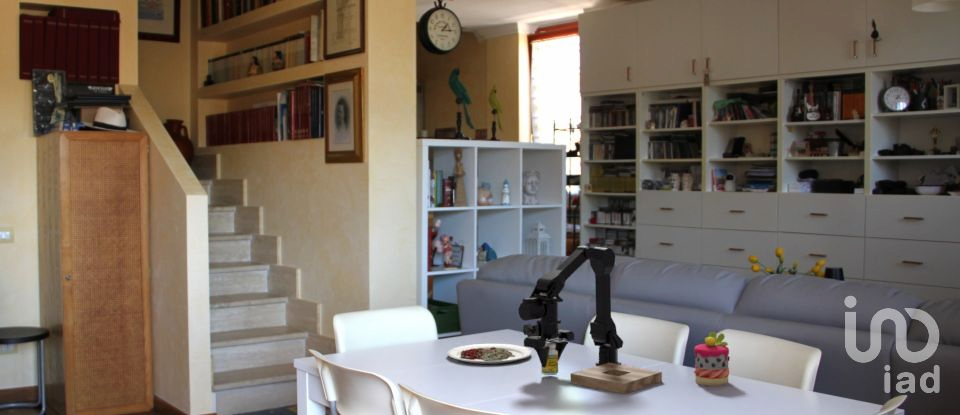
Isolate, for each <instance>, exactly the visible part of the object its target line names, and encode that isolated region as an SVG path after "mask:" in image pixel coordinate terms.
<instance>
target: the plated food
mask: <svg viewBox="0 0 960 415" xmlns="http://www.w3.org/2000/svg"><path fill="white" fill-rule="evenodd" d="M532 354H533V351H532V350H531V348H529V347H525V346H522V345H521V346H520V345H516V344H509V343H479V344H478V343H476V344H466V345H460V346H457V347H454V348H451V349H449V350H448V351H447V356H448V357H449V358H452V359H455V360H457V361H462V362H466V363H470V364H479V365H480V364H484V365H486V364H487V365H488V364H489V365H491V364H504V363H511V362H516V361H519V360H522V359H526V358H528V357H530V356H532Z"/></svg>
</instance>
